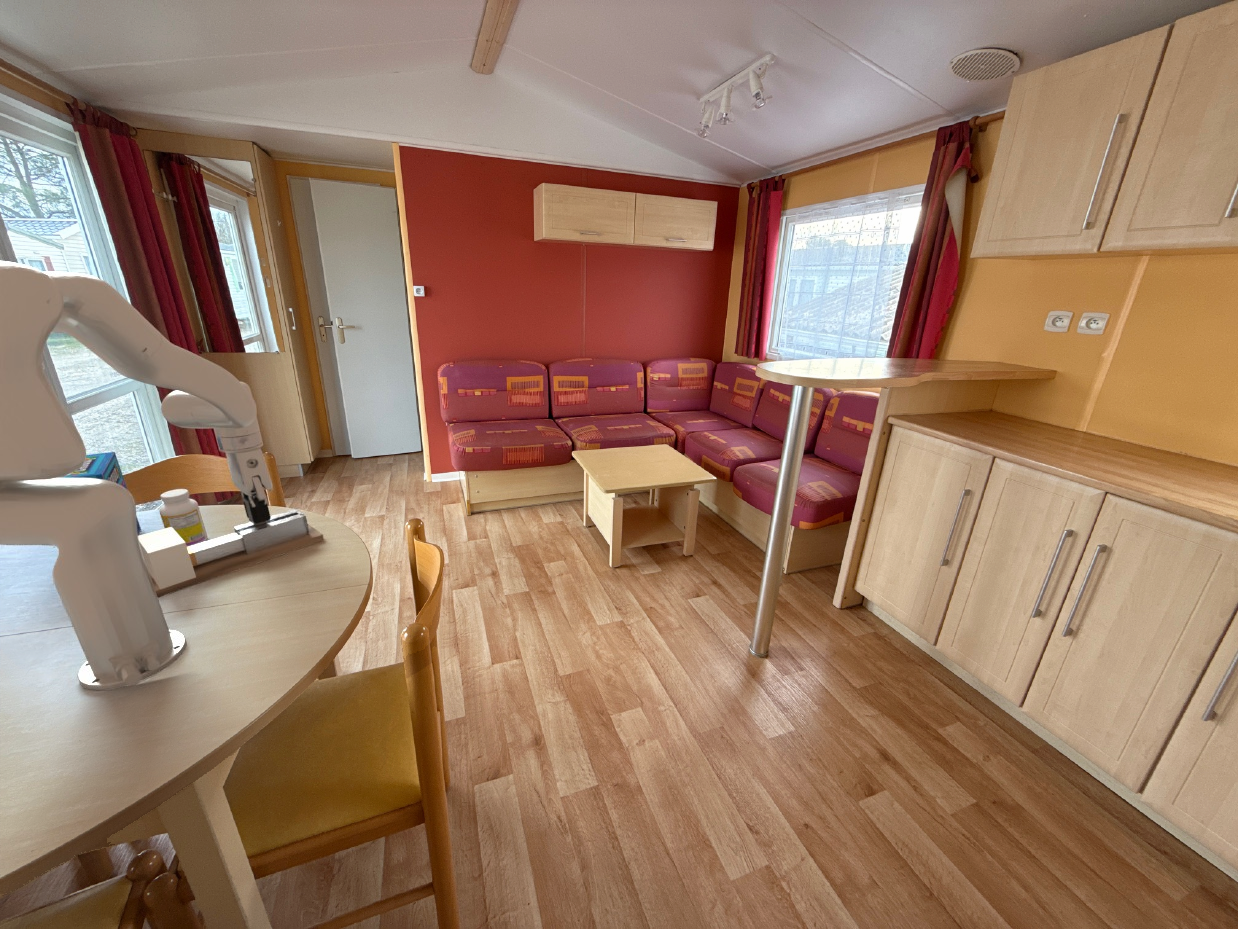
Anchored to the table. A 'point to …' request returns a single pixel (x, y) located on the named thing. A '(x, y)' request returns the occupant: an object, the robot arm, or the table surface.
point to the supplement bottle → (183, 516)
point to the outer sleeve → (273, 531)
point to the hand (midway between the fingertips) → (259, 518)
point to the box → (102, 471)
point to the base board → (239, 562)
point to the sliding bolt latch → (220, 544)
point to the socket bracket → (166, 557)
